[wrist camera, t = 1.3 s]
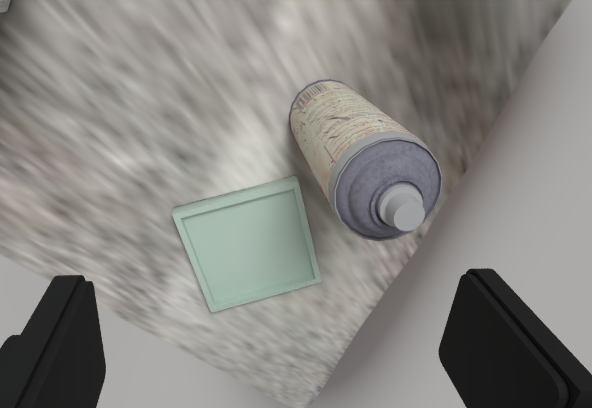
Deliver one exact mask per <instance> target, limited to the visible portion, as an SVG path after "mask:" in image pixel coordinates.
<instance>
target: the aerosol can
mask: <svg viewBox="0 0 592 408" xmlns="http://www.w3.org/2000/svg"><path fill="white" fill-rule="evenodd" d="M289 119H290V128H291V130H292V133H293V135H294V137H295V139H296V141H297V143H298V145H299V147H300V149H301V151H302V153H303V155H304V157H305V159H306V161H307V163H308V165H309V166H310V168H311V170H312V172H313V174H314V176H315V178H316V180H317V182H318V184H319V186H320V188H321V190H322V192H323V194H324V196H325V198H326V200H327V201H328V203H329V205H330V207H331V209H332V211H333V213H334V215H335V216H336V217H337V218H338V219H339V221H340V222H341V223H342V224H343V225H344V226H345V227H346V228H347V229H348V230H349V231H350V232H351V233H353V234H355V235H357V236H359V237H361V238H363V239H368V240H374V241H384V240H391V239H396V238H399V237H401V236H403V235H406V234H408V233H410V232H412V231H413V230H414V229H416V228H417V227H418V226H420V225H421V224H422V223H424V222H425V220H426V219H427V218H428V217H429V215H430V214H431V213H432V211H433V210H434V209H435V207H436V204H437V202H438V200H439V197H440V195H441V188H442V174H441V170H440V166H439V163H438V161H437V160H436V158H435V157H434V155H433V154H432V153H431V151H430V150H429V149H428V147H427V146H426V144H425V143H424V142H422V141H421V140H420V139H418V138H417V137H416V136H414V135H413V134H412V133H410V132H409V131H408V130H406V129H405V128H404V127H402V126H401V125H400V124H398V123H397V122H395V121H394V120H393V119H391V118H390V117H389V116H387V115H386V114H385V113H383V112H382V111H381V110H379V109H378V108H377V107H375V106H374V105H373V104H371V103H370V102H369V101H367V100H366V99H365V98H363V97H362V96H361V95H359V94H358V93H357V92H355V91H354V90H352V89H351V88H350V87H348V86H347V85H345V84H344V83H342V82H339V81H335V80H320V81H317V82H314V83H312V84H310V85H307V86H306V87H305V88H304V89H303V90H302V91H301V92H300V93H298V95H297V97H296V98H295V100H294V102H293V103H292V106H291V110H290V114H289Z"/></svg>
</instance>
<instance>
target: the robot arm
mask: <svg viewBox="0 0 592 408" xmlns="http://www.w3.org/2000/svg"><path fill="white" fill-rule="evenodd" d="M439 357H440V361H441V363H442V365H443V367H444V369H445V370H446V372H447V374H448V376H449V377H450V379H451V381H452V383H453V384H454V386H455V388H456V389H457V391H458V393H459V395H460V397H461V398H462V400H463V402H464V404H465V406H466V407H467V408H592V375H591V374H590V372H589V371H588V370H587V369H586V368H585V367H584V366H583V365H582V364H581V363H580V362H579V361H578V360H577V358H576V357H575V356H573V354H572V353H571V352H570V351H569V350H568V349H567V348H566V347H565V346H564V345H563V344H562V342H561V341H560V340H558V338H557V337H556V336H555V335H554V334H553V333H552V332H551V331H550V330H549V328H548V327H547V326H546V325H545V324H544V323H543V322H542V321H541V320H540V319H539V318H538V317H537V316H536V315H535V314H534V312H533V311H532V310H531V309H530V308H529V307H528V306H527V305H526V304H525V303H524V302H523V301H522V300H521V299H520V297H519V296H518V295H517V294H516V293H515V292H514V291H513V290H512V289H511V288H510V287H509V286H508V285H507V284H506V282H505V281H504V280H503V279H502V278H501V277H500V276H499V275H498V274H497V273H496V272H495V271H494V270H493V269H469V270H468V271H467V272H466V274H464V275H462V276H461V278H460V281H459V284H458V288H457V291H456V294H455V297H454V301H453V304H452V307H451V311H450V314H449V317H448V321H447V324H446V327H445V330H444V334H443V337H442V340H441V343H440V347H439ZM105 372H106V364H105V358H104V351H103V344H102V337H101V331H100V324H99V317H98V311H97V304H96V298H95V291H94V285H93V282H91V281H85V278H84V276H82V275H64V276H55V277H54V278H53V280H52V282H51V283H50V285H49V287H48V288H47V290H46V292H45V294H44V295H43V297H42V299H41V301H40V302H39V304H38V306H37V308H36V309H35V311H34V313H33V314H32V316H31V318H30V319H29V321H28V323H27V325H26V326H25V328H24V330H23V332H22V333H21V335H12V336H10V337H9V338H8V339H7V340H6V341H5V342H4V344H3V345H2V347H1V348H0V408H96V406H97V403H98V399H99V396H100V393H101V389H102V386H103V383H104V379H105Z"/></svg>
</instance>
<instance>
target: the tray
mask: <svg viewBox="0 0 592 408" xmlns="http://www.w3.org/2000/svg"><path fill="white" fill-rule="evenodd" d="M172 216H173V219H174V221H175V224H176V226H177V229H178V231H179V234H180V236H181V239H182V241H183V244H184V246H185V249H186V251H187V254H188V256H189V259H190V261H191V264H192V266H193V269H194V271H195V274H196V276H197V279H198V281H199V284H200V286H201V289H202V291H203V294H204V296H205V299H206V301H207V304H208V306H209V309H210V311H211V313H212V312H216V311H219V310H223V309H227V308H230V307H234V306H237V305H241V304H245V303H248V302H252V301H256V300H259V299H263V298H266V297H270V296H274V295H277V294H281V293H285V292H288V291H292V290H296V289H299V288H303V287H306V286H310V285H314V284H317V283H321V282H322V280H321V276H320V272H319V267H318V263H317V259H316V254H315V250H314V246H313V241H312V237H311V233H310V228H309V224H308V220H307V216H306V211H305V207H304V203H303V198H302V194H301V190H300V185H299V181H298V179H297V176H296V175H295V176H291V177H288V178H284V179H280V180H276V181H272V182H269V183H265V184H261V185H257V186H253V187H250V188H246V189H242V190H238V191H234V192H231V193H227V194H223V195H219V196H215V197H212V198H208V199H204V200H200V201H196V202H193V203H189V204H185V205H181V206H177V207H174V208H173V212H172Z"/></svg>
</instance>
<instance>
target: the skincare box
mask: <svg viewBox="0 0 592 408" xmlns="http://www.w3.org/2000/svg"><path fill="white" fill-rule="evenodd" d="M10 1H11V0H0V13H1V12H7V11H8V7H9V4H10Z"/></svg>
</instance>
